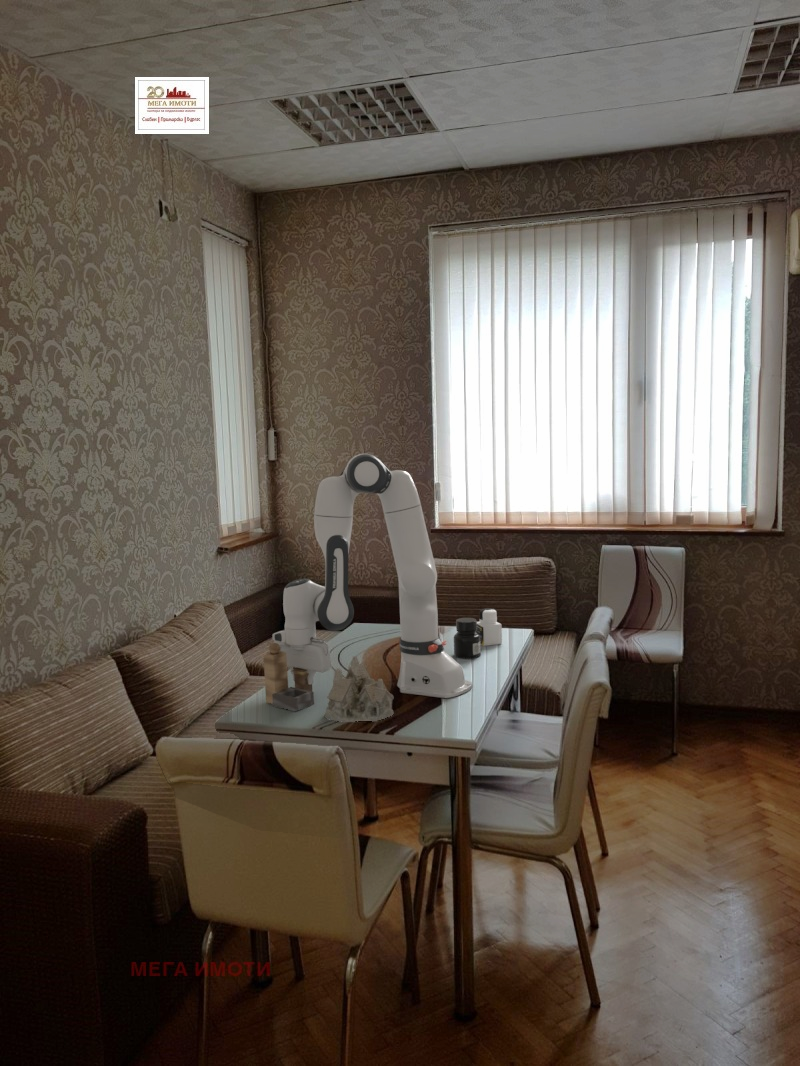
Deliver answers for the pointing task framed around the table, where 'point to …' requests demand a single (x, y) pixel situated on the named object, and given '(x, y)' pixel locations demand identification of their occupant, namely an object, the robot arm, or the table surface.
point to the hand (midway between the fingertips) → (303, 682)
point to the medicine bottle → (489, 627)
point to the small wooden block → (301, 679)
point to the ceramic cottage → (358, 696)
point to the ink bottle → (466, 639)
